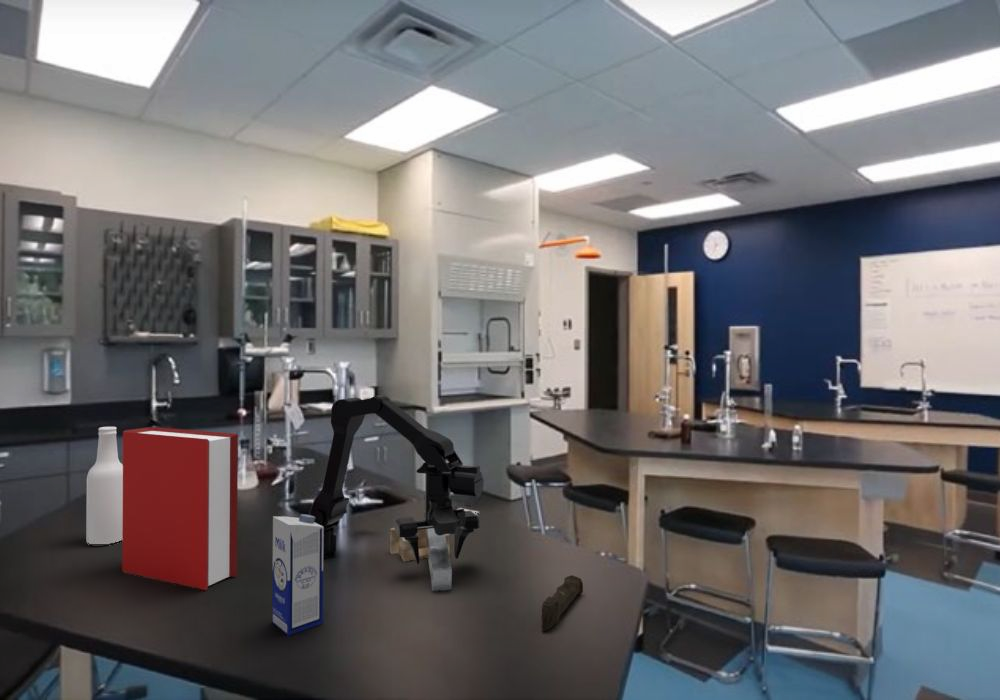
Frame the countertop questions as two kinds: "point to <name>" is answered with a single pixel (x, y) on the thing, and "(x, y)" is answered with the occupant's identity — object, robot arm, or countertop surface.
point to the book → (180, 505)
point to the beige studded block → (405, 549)
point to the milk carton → (297, 573)
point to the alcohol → (105, 492)
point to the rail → (438, 560)
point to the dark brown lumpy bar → (560, 601)
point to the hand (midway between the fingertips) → (437, 560)
